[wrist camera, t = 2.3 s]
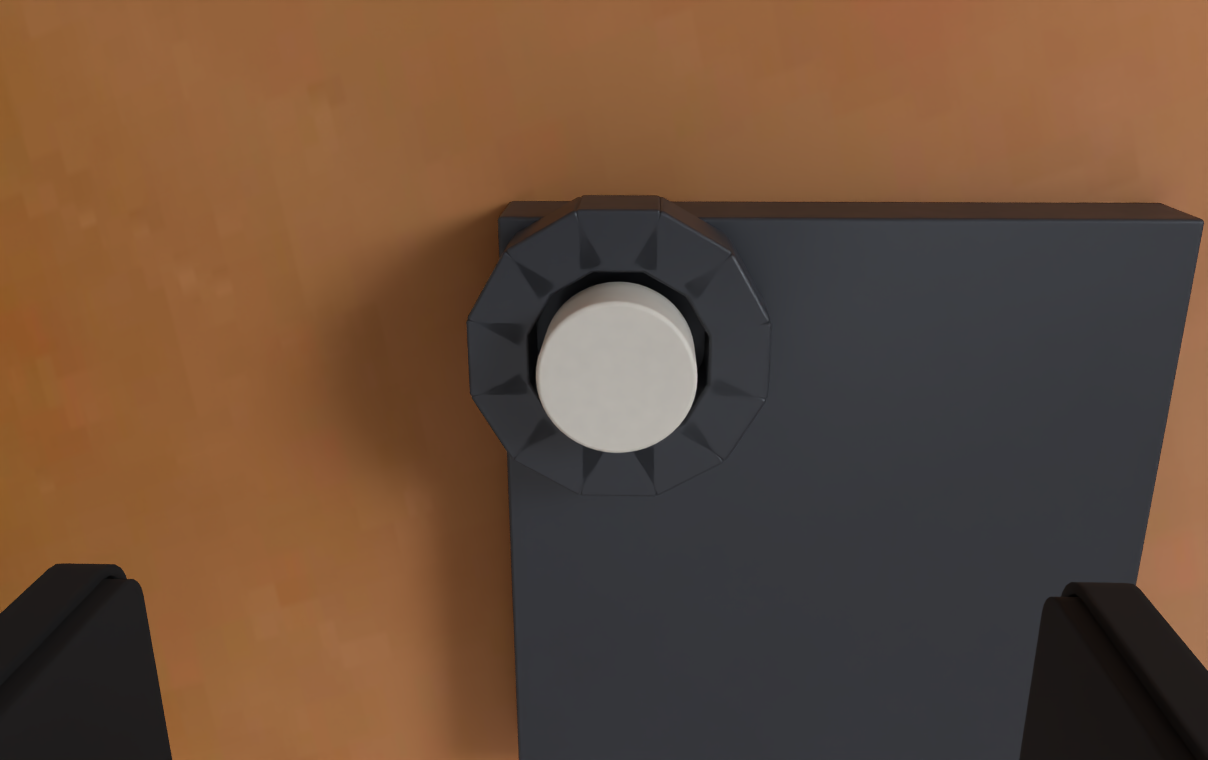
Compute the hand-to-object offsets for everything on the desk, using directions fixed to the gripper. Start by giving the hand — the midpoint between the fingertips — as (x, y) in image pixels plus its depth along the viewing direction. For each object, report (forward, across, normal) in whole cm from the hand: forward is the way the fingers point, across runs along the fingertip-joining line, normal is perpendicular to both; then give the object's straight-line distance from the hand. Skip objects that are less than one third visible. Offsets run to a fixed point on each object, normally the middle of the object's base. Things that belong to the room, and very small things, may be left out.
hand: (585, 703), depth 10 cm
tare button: (+11, 0, 0) cm, 11 cm away
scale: (+14, -4, +4) cm, 16 cm away
